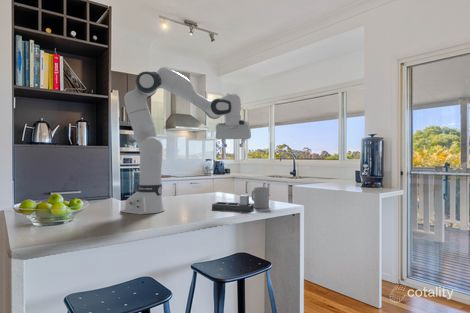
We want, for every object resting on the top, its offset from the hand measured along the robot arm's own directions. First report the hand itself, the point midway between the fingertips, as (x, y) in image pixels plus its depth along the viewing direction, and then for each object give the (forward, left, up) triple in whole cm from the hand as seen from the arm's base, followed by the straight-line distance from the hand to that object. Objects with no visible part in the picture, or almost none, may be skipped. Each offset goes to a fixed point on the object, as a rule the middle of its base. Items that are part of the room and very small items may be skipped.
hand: (233, 147), depth 169 cm
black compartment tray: (+2, -6, -34) cm, 35 cm away
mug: (+14, +6, -34) cm, 38 cm away
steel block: (+8, -6, -34) cm, 36 cm away
